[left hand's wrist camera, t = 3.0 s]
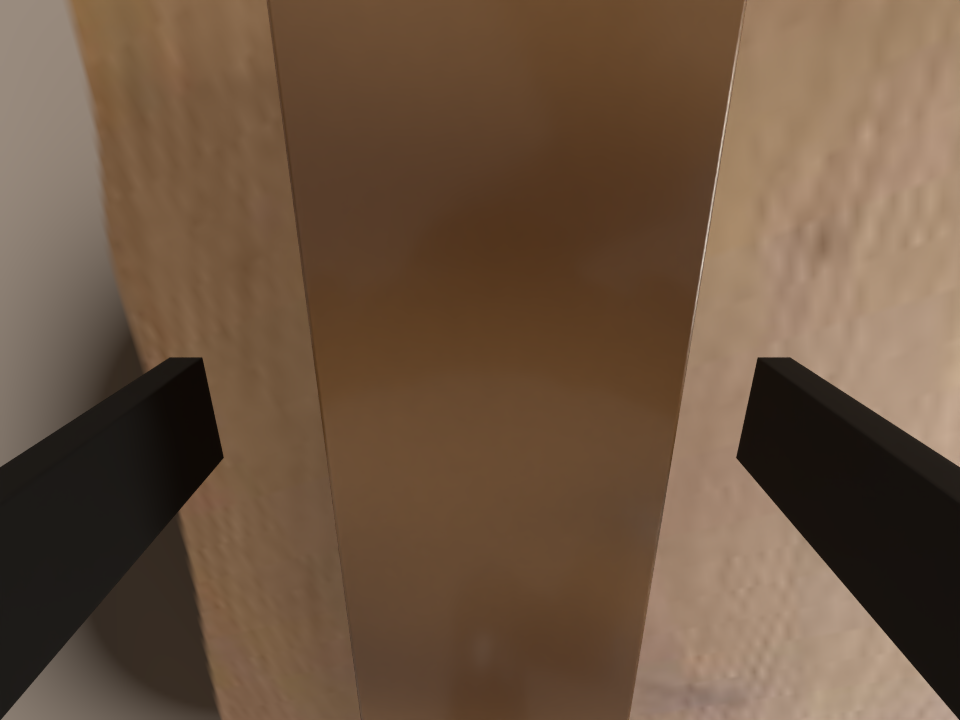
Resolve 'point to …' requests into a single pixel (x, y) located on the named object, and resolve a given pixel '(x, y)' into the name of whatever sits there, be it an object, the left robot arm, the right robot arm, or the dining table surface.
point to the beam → (501, 325)
